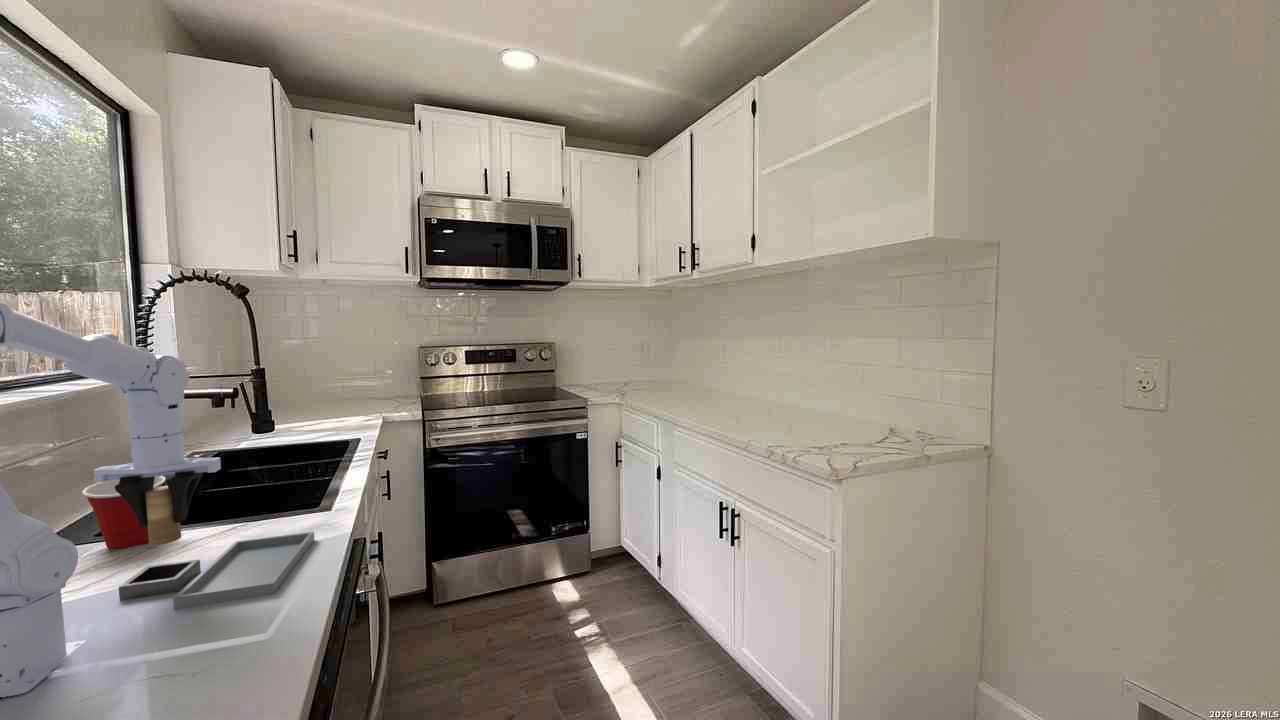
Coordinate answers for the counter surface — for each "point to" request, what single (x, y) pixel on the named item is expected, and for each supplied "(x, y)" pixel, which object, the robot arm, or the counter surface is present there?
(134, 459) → the robot arm
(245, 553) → the slate tray
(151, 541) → the oak dowel
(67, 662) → the counter surface
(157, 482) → the plastic cup
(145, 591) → the pin holder
